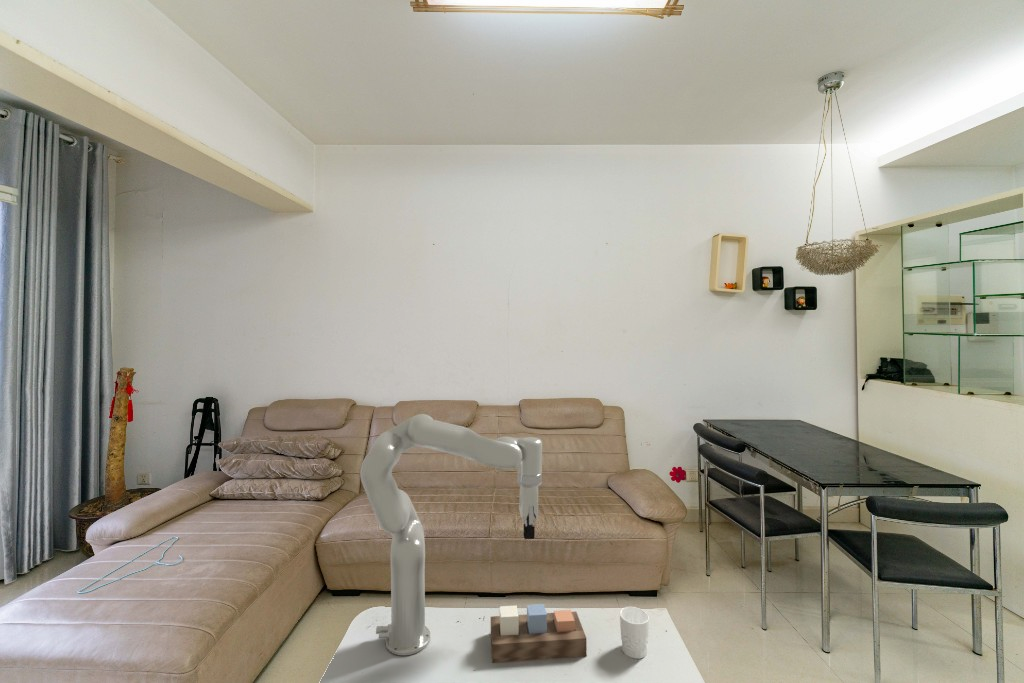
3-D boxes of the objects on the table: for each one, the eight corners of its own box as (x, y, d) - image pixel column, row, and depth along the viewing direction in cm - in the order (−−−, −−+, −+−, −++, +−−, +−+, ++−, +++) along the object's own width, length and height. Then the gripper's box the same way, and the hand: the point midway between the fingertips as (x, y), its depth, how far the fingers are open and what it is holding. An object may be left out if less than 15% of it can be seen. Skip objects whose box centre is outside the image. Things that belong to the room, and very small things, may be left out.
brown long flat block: (492, 662, 118) (492, 644, 118) (490, 633, 130) (490, 616, 130) (586, 656, 121) (586, 638, 121) (576, 627, 133) (576, 611, 133)
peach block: (557, 642, 124) (557, 621, 124) (554, 631, 129) (553, 610, 129) (574, 641, 124) (574, 620, 124) (570, 630, 129) (570, 609, 129)
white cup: (650, 645, 125) (650, 610, 125) (646, 664, 118) (646, 627, 118) (622, 637, 128) (622, 603, 128) (617, 655, 121) (617, 619, 121)
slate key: (529, 636, 123) (529, 615, 123) (527, 625, 128) (526, 604, 128) (546, 635, 123) (546, 614, 123) (543, 624, 128) (543, 603, 128)
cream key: (500, 638, 122) (500, 617, 122) (499, 627, 127) (499, 606, 127) (518, 637, 123) (518, 616, 123) (516, 626, 128) (516, 605, 128)
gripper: (515, 471, 142) (514, 527, 142) (519, 486, 127) (519, 549, 127) (538, 471, 143) (537, 527, 143) (545, 486, 128) (544, 548, 128)
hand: (528, 537), depth 135 cm, fingers closed
